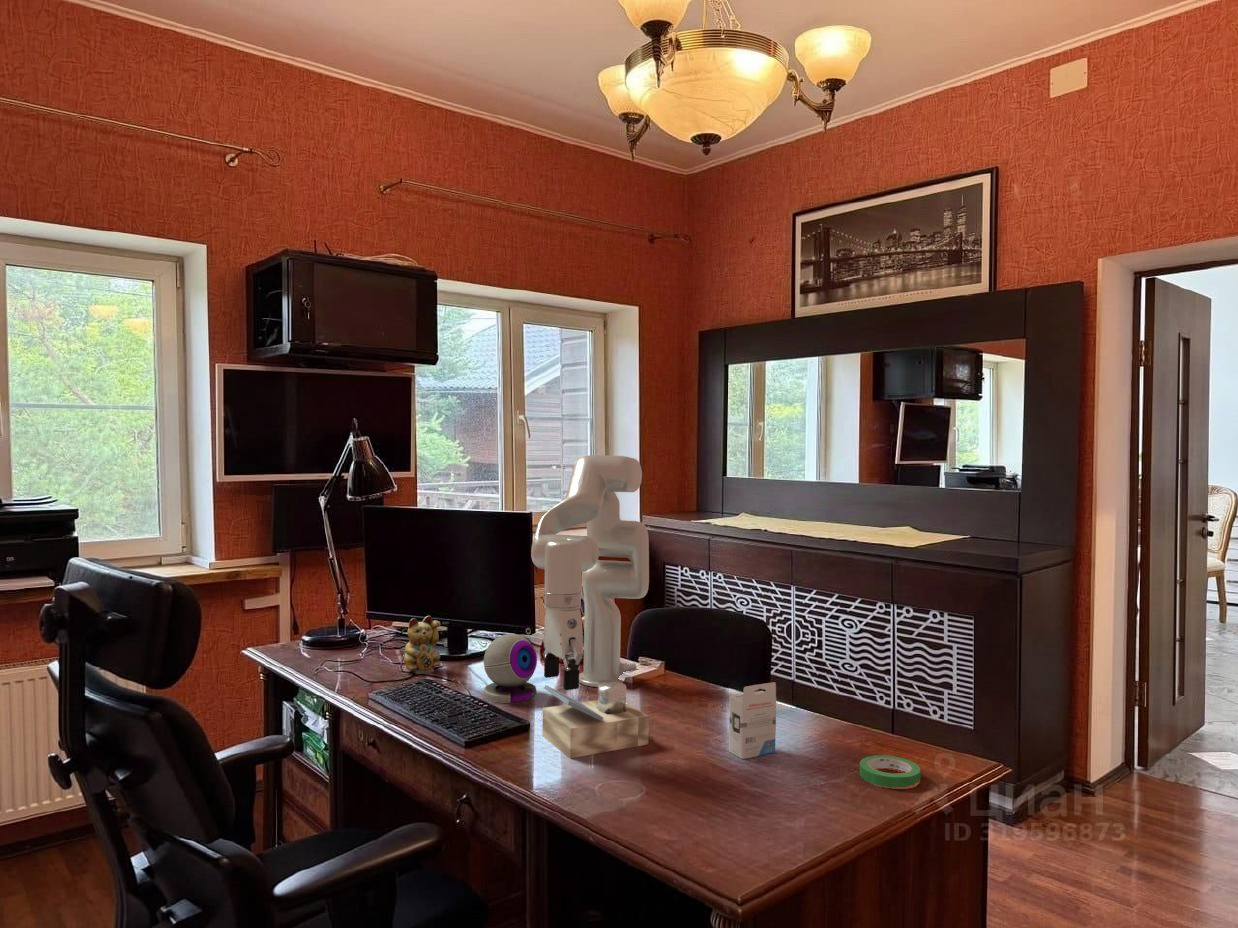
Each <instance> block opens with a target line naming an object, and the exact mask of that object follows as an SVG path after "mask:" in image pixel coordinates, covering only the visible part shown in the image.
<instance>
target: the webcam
mask: <svg viewBox="0 0 1238 928" xmlns="http://www.w3.org/2000/svg"><path fill="white" fill-rule="evenodd" d="M537 665H538V656H537V651H536V649H535V647H534V646H533V644H532V643H531V641H529V640H528V638H526V637H525V636H522V635H520V634H516V633H515V634H514V633H507V634H506V633H505V634H503V635H500V636H498V637H496V638H495V639H494V640H493V641H491V642H490V643H489V645H488V646H487V648H486V650H485V652H484V656H483V668H484V671H485V674H486V676H487V677H488V678H489V680H490V681H491V683H489V684H487V685H486V686H485V687H484V689H483V693H482V694H483V695H482V697H483V698H485V699H486V700H487V701H490V702H494V703H501V704H510V703H513V702H515V703H516V702H522V701H525V700H529V699H531V698H532V697H533V696H534V695H537V693H538V692H537V691H538V690H537V687H536V686H535V684H533V683H531V682H529V680H531V678H532V677H533V675H534V673H535V671H536V668H537Z"/></svg>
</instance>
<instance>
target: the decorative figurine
mask: <svg viewBox="0 0 1238 928" xmlns="http://www.w3.org/2000/svg"><path fill="white" fill-rule="evenodd" d="M440 626H441V621H438V619H437V620H435V619H434V620H433V618H432V616H431V615H427V616H425V617H424V618H423V620H422V621H418V619H416V618H411V619H410V620H409V623H408V629H407V636H408V638H409V641H408V642H407V643H406V644H405V646H404V651H405V654H404V656H403V662H404V665H405V668H406V669H408V670H410V671H413V673H414V674H416V675H421V674H422V675H423V674H428V673H434V672H435V669H434V668H436V667H440V666H441V662H440V661H439V660H440V659H441V654H440V651H438V650H437V649H435V648H434V646H436V645H437V644H438V642H439V637H440V636H439V631H438V628H440Z"/></svg>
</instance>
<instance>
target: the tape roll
mask: <svg viewBox="0 0 1238 928" xmlns="http://www.w3.org/2000/svg"><path fill="white" fill-rule="evenodd" d="M877 768H893V769H898V770H901V771H905V772H906V773H892V772H884V771H882V770H875V769H877ZM860 776H861V777H862V778H863V779H864V780H866V781H868V782H870V783H872V784H876V785H880V786H887V787H906V786H910V785H914V784H915V783H917V782H919V780H920V781H921V768H920V766H919V765H918V764H917V763H915V762H913V761H912V760H909V759H906V758H903V757H898V756H893V755H884V754H883V755H882V754H880V755H870V756H866V757H864V758H862V759H861V760H860V762H859V777H860ZM861 777H860V778H861ZM862 778H861V779H862ZM863 779H862V780H863ZM864 780H863V781H864ZM866 781H865V782H866ZM872 784H871V785H872Z"/></svg>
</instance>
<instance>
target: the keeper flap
mask: <svg viewBox="0 0 1238 928" xmlns="http://www.w3.org/2000/svg"><path fill="white" fill-rule="evenodd" d="M543 689H544V690H546V691H547V692H548V693H550V694H551V695H552V696H554V697H556V698H557V699H558V700H560V701H561V702H563V703H565V705H569V706H571V707H573V708H575V709H577V710H579V711H582V712H584V713H586V714H588V715H590V716H592V717H594V718H596V719H598V720H600V721H602V720H603V717H602V716H600V715H599V714H597V713H596V712H594V711H593V710H591V709H590V708H588V707H587V706H585V705H584V704H582V703H581V701H579V700H576V699H575V698H573V697H571V696H569V695H567V694H564V693H563V692H561V691H559V690H557V689H554V688H552V687H550V686H549V685H546V684H545V686H544V687H543Z"/></svg>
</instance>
